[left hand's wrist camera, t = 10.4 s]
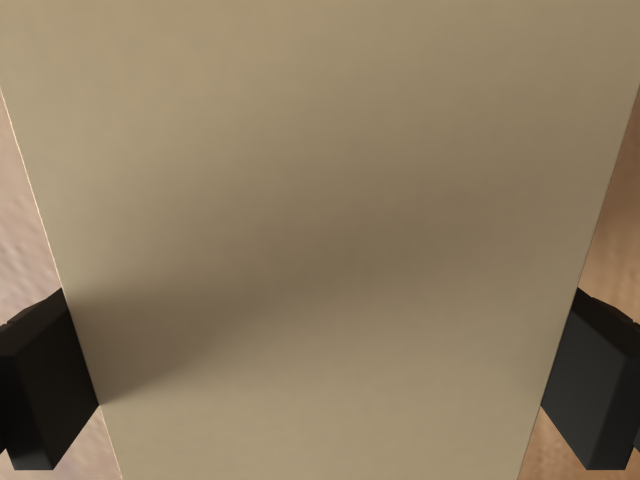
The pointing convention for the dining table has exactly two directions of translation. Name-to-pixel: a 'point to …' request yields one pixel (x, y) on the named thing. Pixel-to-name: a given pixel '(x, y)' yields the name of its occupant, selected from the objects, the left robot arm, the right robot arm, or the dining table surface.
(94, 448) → the dining table surface
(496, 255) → the cabinet
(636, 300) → the dining table surface
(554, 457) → the dining table surface
